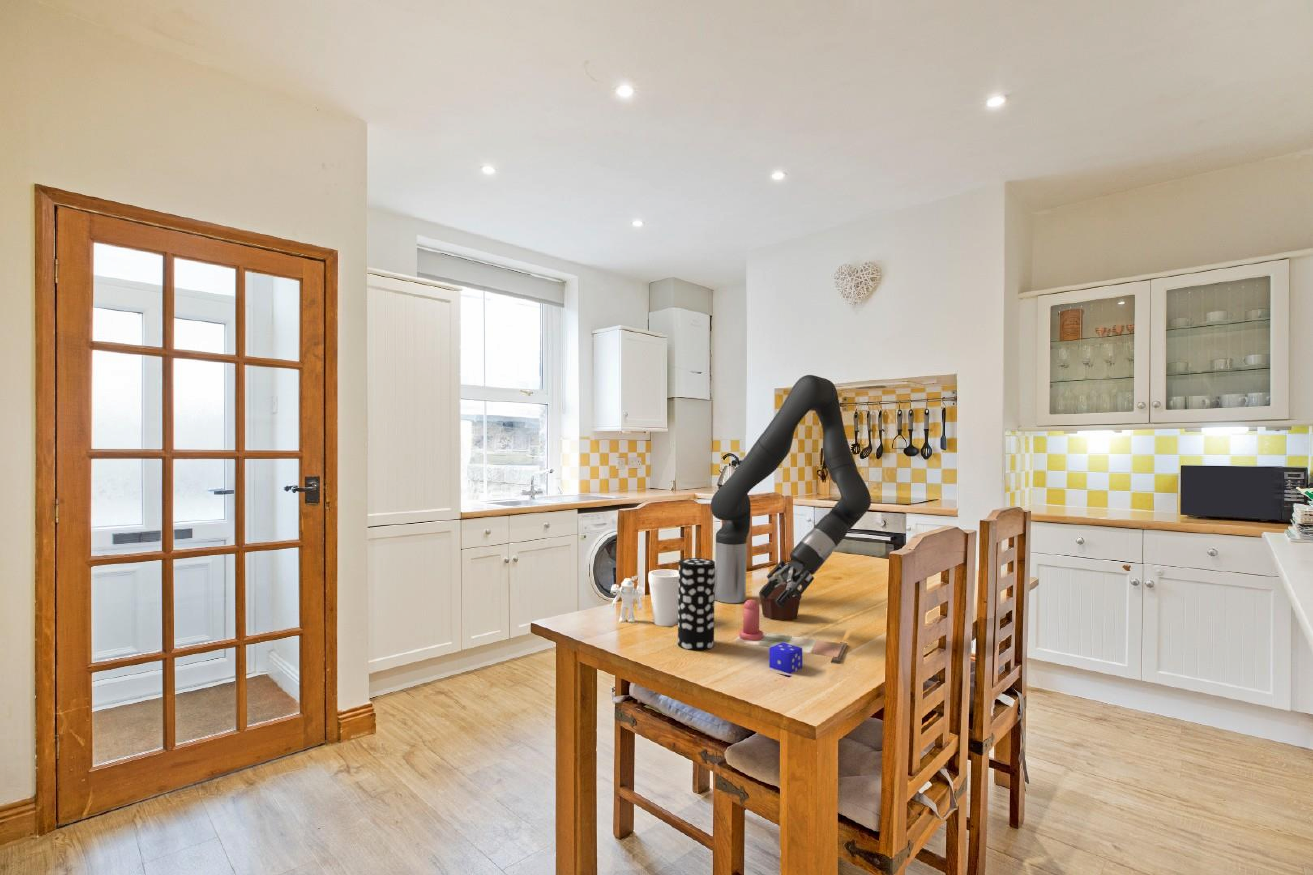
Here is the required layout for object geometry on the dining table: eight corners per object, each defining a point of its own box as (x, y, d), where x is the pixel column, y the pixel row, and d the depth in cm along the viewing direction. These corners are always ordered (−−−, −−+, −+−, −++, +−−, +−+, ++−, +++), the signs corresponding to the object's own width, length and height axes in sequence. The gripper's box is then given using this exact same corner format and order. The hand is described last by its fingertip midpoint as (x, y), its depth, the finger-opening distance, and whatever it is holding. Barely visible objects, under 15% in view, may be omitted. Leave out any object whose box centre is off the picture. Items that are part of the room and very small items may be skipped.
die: (768, 671, 132) (769, 647, 132) (782, 665, 136) (782, 642, 136) (789, 677, 129) (789, 653, 129) (802, 671, 132) (802, 647, 132)
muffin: (751, 614, 174) (752, 577, 174) (787, 611, 177) (788, 576, 177) (771, 626, 163) (771, 588, 163) (809, 623, 166) (809, 585, 166)
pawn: (736, 638, 151) (736, 601, 150) (743, 632, 156) (743, 595, 156) (759, 642, 148) (759, 603, 148) (765, 635, 153) (765, 598, 153)
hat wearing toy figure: (644, 619, 168) (645, 574, 168) (642, 623, 164) (642, 577, 164) (611, 617, 170) (612, 572, 170) (608, 621, 166) (608, 575, 166)
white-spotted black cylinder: (717, 653, 143) (719, 564, 142) (681, 655, 141) (682, 565, 141) (708, 641, 151) (709, 557, 151) (674, 642, 149) (675, 558, 149)
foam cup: (642, 625, 163) (643, 574, 163) (655, 615, 171) (656, 568, 171) (677, 629, 159) (677, 578, 159) (688, 620, 168) (689, 571, 168)
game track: (728, 646, 147) (728, 642, 147) (744, 630, 159) (744, 627, 159) (839, 663, 137) (839, 659, 137) (847, 645, 149) (847, 642, 149)
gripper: (789, 536, 162) (747, 583, 159) (818, 545, 149) (773, 597, 146) (807, 556, 164) (766, 603, 161) (838, 567, 150) (793, 618, 147)
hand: (770, 600), depth 153 cm, fingers open, 8 cm apart
